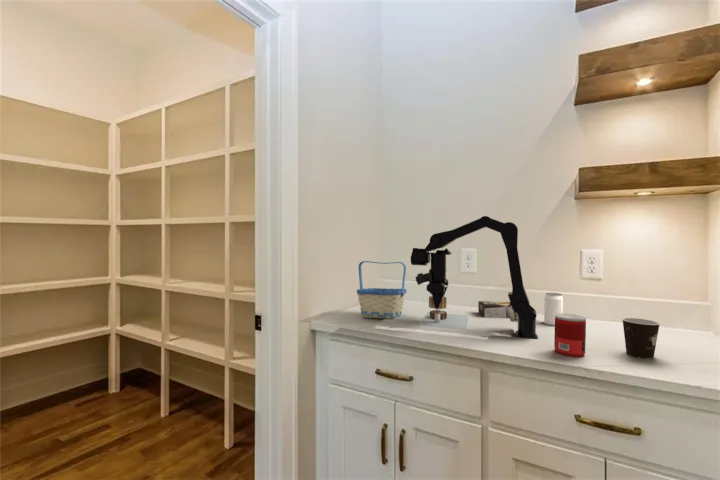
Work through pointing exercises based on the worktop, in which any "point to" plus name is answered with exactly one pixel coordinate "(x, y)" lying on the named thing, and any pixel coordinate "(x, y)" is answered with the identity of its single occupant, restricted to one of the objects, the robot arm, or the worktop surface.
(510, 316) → the coffee box
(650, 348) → the coffee mug
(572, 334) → the canned food
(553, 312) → the can
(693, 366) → the worktop surface
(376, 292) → the basket
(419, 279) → the robot arm
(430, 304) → the oak gear
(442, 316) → the walnut gear
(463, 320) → the gear board
